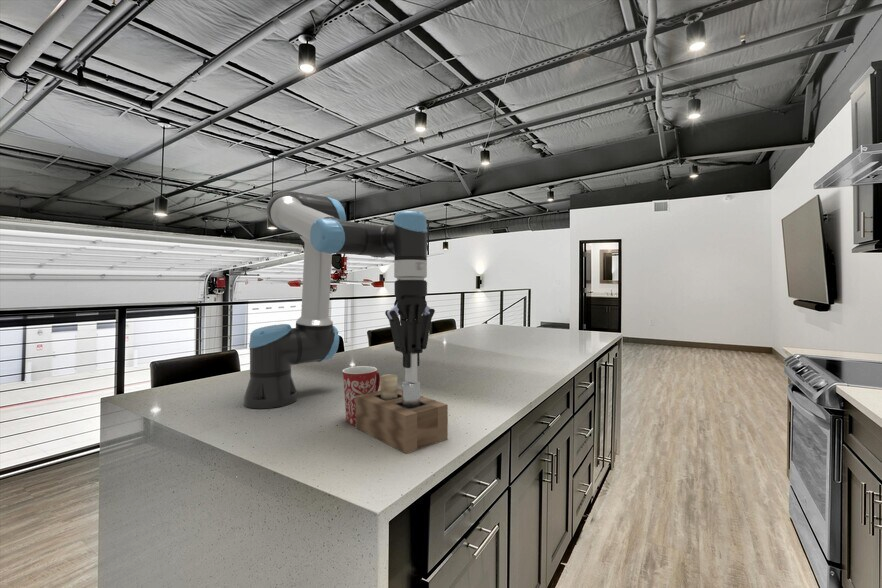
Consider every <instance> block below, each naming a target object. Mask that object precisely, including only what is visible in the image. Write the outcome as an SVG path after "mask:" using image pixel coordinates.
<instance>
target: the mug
mask: <svg viewBox="0 0 882 588" xmlns="http://www.w3.org/2000/svg"><path fill="white" fill-rule="evenodd" d="M341 373H342V377H343V390H344V405H345V407H344V408H345V419H346V420H345V421H346V422H347V423H348V424H351V425H356V395H361V394H366V393H371V392H376V391H379V387H380V385H381V382H380V376H381V375H380V373H379V372H378V368H376V367H375V366H367V365H365V366H364V365H359V366H358V365H357V366H350V367H346V368H344V369H342V371H341Z"/></svg>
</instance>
